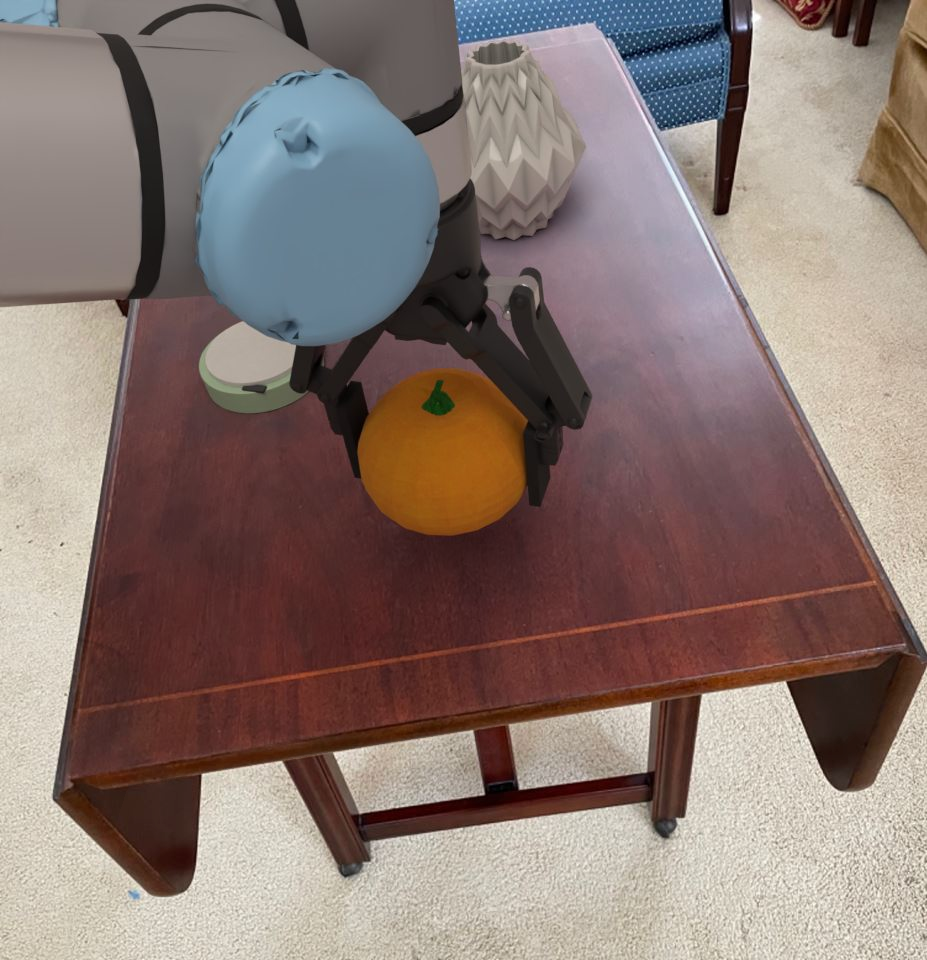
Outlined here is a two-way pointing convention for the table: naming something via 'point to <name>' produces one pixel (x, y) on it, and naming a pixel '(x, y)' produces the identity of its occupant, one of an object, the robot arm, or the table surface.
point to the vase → (517, 140)
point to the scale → (248, 370)
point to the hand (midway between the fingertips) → (450, 478)
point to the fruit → (444, 452)
